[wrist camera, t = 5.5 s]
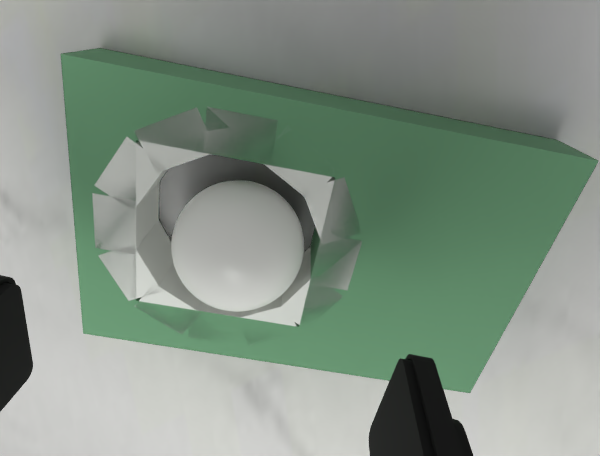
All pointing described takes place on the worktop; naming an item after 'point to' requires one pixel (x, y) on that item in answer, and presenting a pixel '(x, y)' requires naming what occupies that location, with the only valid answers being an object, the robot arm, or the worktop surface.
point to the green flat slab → (313, 217)
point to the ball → (237, 245)
